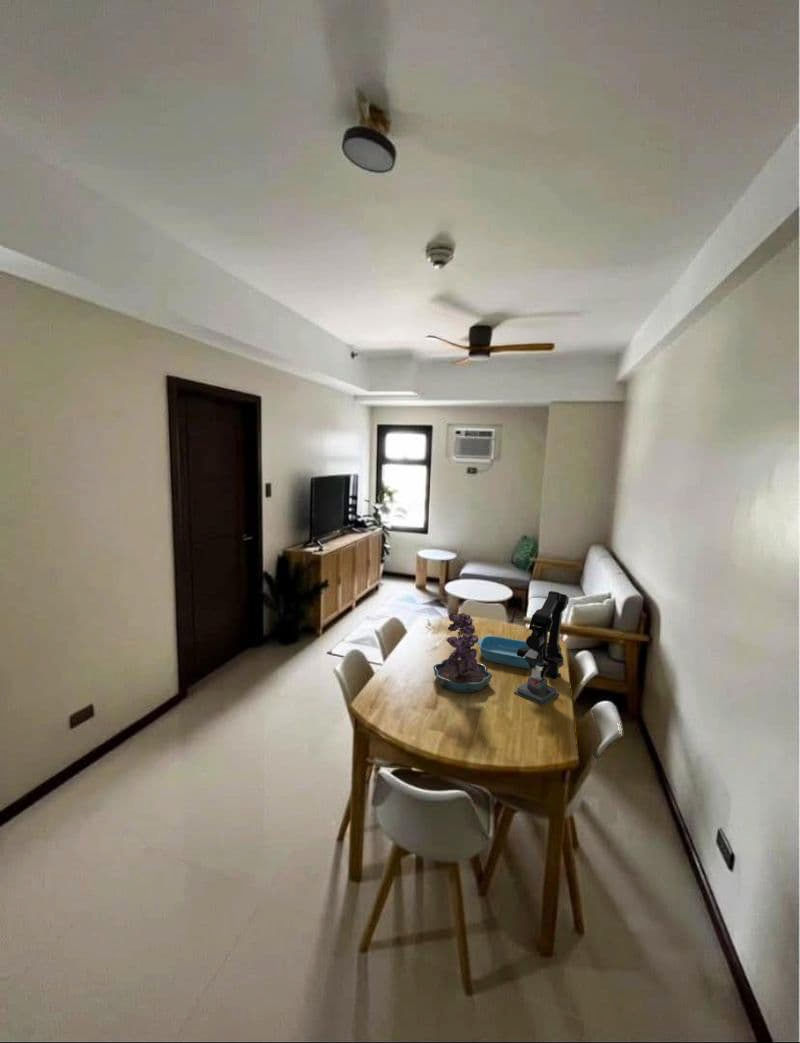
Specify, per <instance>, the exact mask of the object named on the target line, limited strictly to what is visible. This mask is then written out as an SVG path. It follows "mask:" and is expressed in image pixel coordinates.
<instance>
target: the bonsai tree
mask: <svg viewBox="0 0 800 1043" xmlns="http://www.w3.org/2000/svg"><path fill="white" fill-rule="evenodd" d="M448 619H449V621H450V622H452V623H450V624H449V626H447V630H448V631H450V632H451V633H453V632H456V631H457V634H458V635H457V636H448V637H447V638H446V642H447V643H448V644H449V645H450V646H451V647H452V648H454V650H453V651H451V652H450V655H448V658H446V659H445V658H444V659H443V660H441V662H440V663H436V664H434V665H433V666H432V668H433V671H434V675H435V678H436V680H437V682H438V684H439V685H441V686H442V687H444V688H446V689H447V690H449V691H453V692H457V693H475V692H478V691H480V690H482V689H483V688H484V687H485V686H486V685H488V684H490V682H491V680H492V677H493V675H492V673H491V672H489V671H488V667H487V665H486V664H484V663H483V664H482V663H480V662H478V659H477V658H476V657H477V653H478V650H477V649H476V648H474V647H475V644H477V642H478V640H479V637H478V635H476V634H474V633H475V632H476V627H475V625H473V622H474V619H473V618H472V617H471V615H470V614H466V613H465V612H460V613H459V614H456V615H453V614H452V613H449V615H448Z"/></svg>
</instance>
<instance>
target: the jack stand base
mask: <svg viewBox="0 0 800 1043" xmlns="http://www.w3.org/2000/svg"><path fill="white" fill-rule="evenodd" d="M513 694H515V695H517V696H520V697H522V698H525V699H527V700H529V701H531V702H534V703H536V704H538V705H541V706H547V705H548V704H549V703H550V702H552V701H553V700H554V699H555V698H556V697H558V696H559V695H560V692H557V688H555V687H553V686H551V685H548V678H547V677H544V680H543V681H541V682H538V681H536V680H533V679H531V676H529V677H528V678H527V681H526V682H524V683H522V684H521V685H520V686H518V687H517V689H516V690H515V691H514V692H513Z"/></svg>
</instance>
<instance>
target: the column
mask: <svg viewBox="0 0 800 1043" xmlns="http://www.w3.org/2000/svg"><path fill="white" fill-rule="evenodd" d="M530 674H531V675H530V677H531V679H533V680H536V681H538V682H541V681H543V680H544V678H545V677H544V678H542V666H541V667H539V666H535V667H533V668H532V672H531V673H530Z"/></svg>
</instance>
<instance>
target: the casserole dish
mask: <svg viewBox="0 0 800 1043" xmlns="http://www.w3.org/2000/svg"><path fill="white" fill-rule="evenodd" d="M476 644H477V645H478V646H479V648H480V652H481V653H480V654H481V656H482V657H483V658H484V659H485V660H486V661H489V662H491V663H496V664H502V665H506V666H511V667H515V668H521V669H526V670H527V669H528V670H531V668H530V665H529V663H528V662H527V661H526V660H525V659H524V658H525V656H524V657H520V656H517V650H518V649H520V648H522V647H527V648H529V647H528V646H527V644H526V640H519V639H515V638H514V639H513V638H507V637H501V636H494V635H488V636H487V635H486V636H485V637H482V638H478V642H477V643H476ZM543 664H544V662H543V661H542V662H541V663H540V662H537V664H536V666H539V667H542V666H541V665H543Z"/></svg>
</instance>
